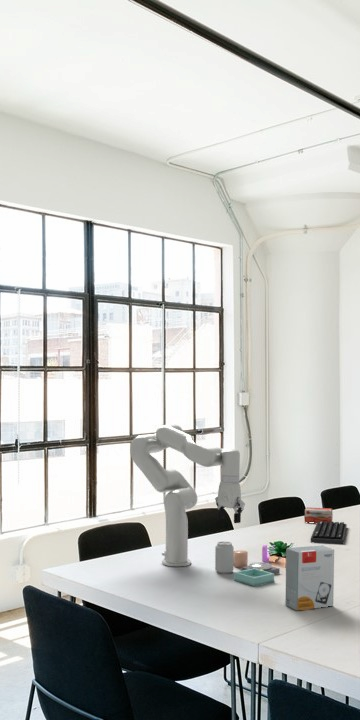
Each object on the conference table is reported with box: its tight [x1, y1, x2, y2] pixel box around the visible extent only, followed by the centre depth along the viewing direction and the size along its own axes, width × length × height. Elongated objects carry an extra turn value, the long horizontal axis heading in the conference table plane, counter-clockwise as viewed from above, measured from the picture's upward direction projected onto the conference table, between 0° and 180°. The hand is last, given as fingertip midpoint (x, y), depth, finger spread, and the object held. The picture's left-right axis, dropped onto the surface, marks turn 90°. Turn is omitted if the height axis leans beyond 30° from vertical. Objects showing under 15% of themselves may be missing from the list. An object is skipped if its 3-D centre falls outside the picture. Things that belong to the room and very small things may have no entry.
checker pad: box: [249, 561, 273, 570], centre depth 296 cm, size 9×9×1 cm
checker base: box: [241, 565, 280, 576], centre depth 296 cm, size 11×11×3 cm
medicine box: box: [303, 507, 334, 523], centre depth 412 cm, size 15×8×8 cm, turn 73°
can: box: [214, 541, 235, 575], centre depth 298 cm, size 8×8×12 cm
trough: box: [233, 568, 275, 587], centre depth 283 cm, size 11×11×3 cm
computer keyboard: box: [310, 521, 348, 545], centre depth 377 cm, size 45×16×4 cm, turn 165°
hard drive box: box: [284, 545, 335, 611], centre depth 251 cm, size 16×8×20 cm, turn 114°
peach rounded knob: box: [233, 549, 249, 569], centre depth 307 cm, size 6×6×6 cm
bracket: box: [261, 544, 274, 563], centre depth 322 cm, size 13×6×7 cm, turn 161°
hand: (229, 520), depth 299 cm, fingers open, 9 cm apart
